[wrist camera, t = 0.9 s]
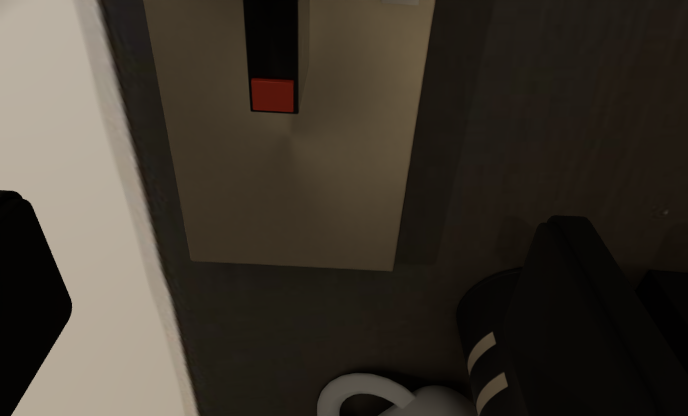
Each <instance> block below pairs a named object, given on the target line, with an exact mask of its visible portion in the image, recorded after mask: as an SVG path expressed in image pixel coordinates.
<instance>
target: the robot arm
mask: <svg viewBox="0 0 688 416" xmlns="http://www.w3.org/2000/svg"><path fill="white" fill-rule="evenodd" d="M71 312H72V302H71V298H70V296H69V294H68V291H67V289H66V286H65V284H64V282H63V279H62V277H61V274H60V272H59V270H58V267H57V265H56V262H55V260H54V258H53V255H52V253H51V250H50V248H49V246H48V243H47V241H46V238H45V236H44V233H43V231H42V229H41V226H40V224H39V221H38V219H37V217H36V214H35V212H34V209H33V207H32V205H31V203H30V202H29V201H27V200H25V199H23V198H22V196H21V195H20V194H19V193H17V192H15V191H5V190H0V416H11V415H12V413H13V411H14V410H15V408H16V407H17V405H18V403H19V402H20V400H21V398H22V397H23V395H24V393H25V392H26V390H27V388H28V386H29V385H30V383H31V382H32V380H33V378H34V377H35V375H36V373H37V372H38V370H39V368H40V367H41V365H42V363H43V362H44V360H45V358H46V357H47V355H48V353H49V352H50V350H51V348H52V347H53V345H54V344H55V342H56V340H57V339H58V337H59V335H60V334H61V332H62V330H63V328H64V327H65V325H66V324H67V322H68V320H69V318H70V316H71ZM503 330H504V337H505V340H506V344H507V347H508V350H509V353H510V357H511V360H512V363H513V366H514V369H515V373H516V376H517V379H518V382H519V385H520V389H521V392H522V395H523V398H524V402H525V405H526V408H527V411H528V414H529V416H688V374H687V373H686V371H685V370H684V368H683V367H682V365H681V364H680V362H679V360H678V359H677V357H676V356H675V354H674V353H673V351H672V349H671V348H670V346H669V345H668V343H667V342H666V340H665V338H664V337H663V335H662V334H661V332H660V331H659V329H658V327H657V326H656V324H655V323H654V321H653V320H652V318H651V316H650V315H649V313H648V312H647V310H646V309H645V307H644V305H643V304H642V302H641V301H640V299H639V298H638V296H637V294H636V293H635V291H634V290H633V288H632V287H631V285H630V283H629V282H628V280H627V279H626V277H625V276H624V274H623V272H622V271H621V269H620V268H619V266H618V265H617V263H616V261H615V260H614V258H613V257H612V255H611V254H610V252H609V250H608V249H607V247H606V246H605V244H604V243H603V241H602V239H601V238H600V236H599V235H598V233H597V232H596V230H595V228H594V227H593V225H592V224H591V222H590V221H589V220H588V219H587V218H586V217H580V216H558V215H554V216H551V217H550V218H549V219H548V221H547V223H540V224H539V226H538V228H537V230H536V233H535V235H534V238H533V241H532V244H531V246H530V249H529V252H528V255H527V257H526V260H525V263H524V266H523V269H522V271H521V274H520V277H519V280H518V282H517V285H516V288H515V291H514V293H513V296H512V299H511V302H510V305H509V307H508V310H507V313H506V316H505V319H504V325H503Z"/></svg>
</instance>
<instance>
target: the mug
mask: <svg viewBox="0 0 688 416" xmlns="http://www.w3.org/2000/svg"><path fill="white" fill-rule="evenodd" d="M360 393H364V394H373V395H376V396H380V397H383V398H385V399H387V400H389V401H391V402H393V403H394V404H395V405H393V406H392V407H390V408H389V409H387V410H386V411H384V412H383V413H381V414H380V415H378V416H478V415H477V413H476V409H475V406H474V405H473V404H472V403H471V402H470V401H469V400H468V399H467V398H466V397H465V396H463V395H462V394H460V393H459V392H457V391H455V390H453V389H451V388H448V387H445V386H439V385H429V386H425V387H421V388H419V389H417V390H415V391H414V392H410V391H409V390H408V389H406V388H405V387H404V386H402V385H400V384H398V383H396V382H394V381H392V380H390V379H388V378H385V377H381V376H378V375H374V374H367V373H352V374H347V375H342V376H340V377H338V378H336V379H334V380H333V381H331V382H329V383H328V385H327V386H326V387H325V388H324V389H323V390H322V392H321V394H320V397H319V399H318V402H317V416H339V411H340V407H341V404H342V402H343V401H344V400H345V399H346V398H348V397H350V396H352V395H355V394H360Z"/></svg>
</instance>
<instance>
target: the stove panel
mask: <svg viewBox="0 0 688 416" xmlns="http://www.w3.org/2000/svg"><path fill="white" fill-rule="evenodd" d="M143 2H144V7H145V13H146V18H147V24H148V29H149V35H150V40H151V45H152V51H153V56H154V62H155V67H156V73H157V78H158V83H159V89H160V94H161V100H162V105H163V111H164V116H165V121H166V127H167V132H168V138H169V143H170V149H171V154H172V160H173V165H174V170H175V176H176V181H177V187H178V192H179V198H180V203H181V208H182V214H183V219H184V225H185V230H186V236H187V241H188V246H189V252H190V257H191V261H201V262H221V263H241V264H260V265H280V266H299V267H319V268H339V269H358V270H378V271H393V270H394V265H395V258H396V252H397V245H398V239H399V232H400V226H401V220H402V213H403V207H404V200H405V194H406V188H407V181H408V175H409V168H410V162H411V156H412V149H413V143H414V136H415V130H416V123H417V117H418V111H419V104H420V98H421V91H422V85H423V79H424V72H425V66H426V59H427V53H428V47H429V40H430V34H431V27H432V21H433V14H434V8H435V2H436V0H310V11H309V67H308V72H307V77H306V81H305V86H304V91H303V95H302V100H301V105H300V110H299V113H298V114H282V113H264V112H251V111H250V99H249V85H248V70H247V55H246V41H245V26H244V11H243V0H143Z"/></svg>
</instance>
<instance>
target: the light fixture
mask: <svg viewBox="0 0 688 416" xmlns="http://www.w3.org/2000/svg"><path fill="white" fill-rule="evenodd" d="M522 269H523V268H519V269H512V270H508V271H504V272H500V273H498V274H495V275H492V276H490V277H488V278H486V279H484V280H482V281H481V282H479V283H478V284H476V285H475V286H474V287H473V288H471V289H470V290H469V291H468V292H467V293H466V294H465V296H464V297H463V299H462V300H461V302H460V304H459V306H458V309H457V315H456V318H457V325H458V329H459V334H460V339H461V343H462V348H463V353H464V358H465V362H466V367H467V371H468V374H469V376H470V386H471V390H472V395H473V400H474V404H475V409H476V413H477V415H478V416H529V414H528V411H527V408H526V405H525V402H524V398H523V395H522V392H521V389H520V385H519V382H518V379H517V376H516V373H515V369H514V366H513V363H512V360H511V357H510V353H509V350H508V347H507V344H506V340H505V337H504V330H503V325H504V319H505V316H506V313H507V310H508V307H509V305H510V302H511V299H512V296H513V293H514V291H515V288H516V285H517V282H518V280H519V277H520V274H521V271H522ZM636 294H637V296H638V298H639V299H640V301H641V302H642V304H643V305H644V307H645V309H646V310H647V312H648V313H649V315H650V316H651V318H652V320H653V321H654V323H655V324H656V326H657V327H658V329H659V331H660V332H661V334H662V335H663V337H664V338H665V340H666V342H667V343H668V345H669V346H670V348H671V349H672V351H673V353H674V354H675V356H676V357H677V359H678V360H679V362H680V364H681V365H682V367H683V368H684V370H685V371H686V373H687V374H688V273H676V272H665V271H653V270H650V271H649V273H648V274H647V276H646V277H645V279H644V280H643V282H642V283H641V285H640V286H639V288H638V289H637V291H636Z"/></svg>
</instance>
